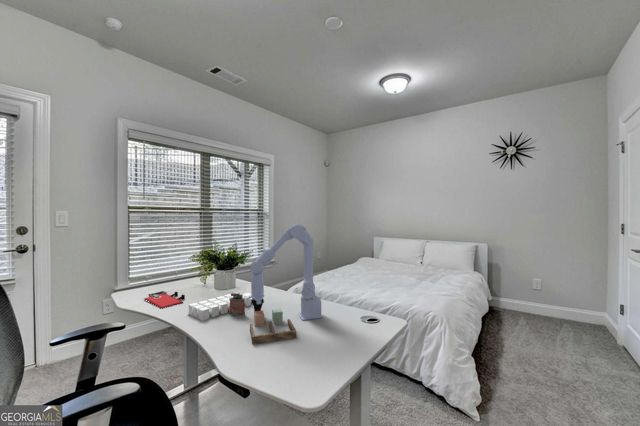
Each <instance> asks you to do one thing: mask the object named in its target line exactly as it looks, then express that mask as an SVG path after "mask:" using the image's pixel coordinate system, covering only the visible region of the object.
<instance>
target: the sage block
mask: <svg viewBox="0 0 640 426" xmlns="http://www.w3.org/2000/svg"><path fill="white" fill-rule="evenodd" d="M271 310H272V312H271V318H272V319H271V320H272V321H271V322H272V324H273V325H275V324H277V325H278V324H283V321H284V320H283V309H281V308H277V309H276V308H275V309H271Z"/></svg>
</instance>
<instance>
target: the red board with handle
mask: <svg viewBox="0 0 640 426" xmlns="http://www.w3.org/2000/svg"><path fill="white" fill-rule="evenodd" d="M147 295H148V297H144V298H143V300H144V299H145V300H147V301H149V302H150V303H149V302H148V303H149V304H151V303H152V304H151V305H153V304H154V305H153V306H155V305H156V306H155V307H157V306H158V307H157V308H159V309H161V308H162V309H165V307H166V308H170V307H174V306H177V304H178V305H181V304H184V301H182V300H183V299H184V300H186V295H185V294H181V295H180V297H179V292H178V291H174V293H172V294H171V295H169V293H167V292H166V291H163V290H162V291H157V292H153V293H148V294H147ZM176 296H177V298H176ZM145 300H144V301H145ZM147 301H146V302H147ZM173 305H174V306H173ZM169 306H170V307H169Z"/></svg>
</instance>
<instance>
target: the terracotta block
mask: <svg viewBox="0 0 640 426" xmlns="http://www.w3.org/2000/svg"><path fill="white" fill-rule="evenodd" d="M253 323H254V326H255V327H259V326H260V327H261V326H265V312H264V310H262V309H261V311H254V310H253Z"/></svg>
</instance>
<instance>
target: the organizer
mask: <svg viewBox="0 0 640 426" xmlns="http://www.w3.org/2000/svg"><path fill="white" fill-rule="evenodd" d="M235 293H236V294H237V293H238V292H235ZM242 294H243V297H242V298H245V307H246V306H247V307H249V306H251V304H252V301H251V299H252V298H249V295H251V292H245V293H242ZM231 297H233V296H231V293H229V294H228V293H227V294H225V295H221V296H216V297H215V298H213V297H212V298H209V299H207V300H202V301H201V300H200V301H198V302H193V303H190V304H188V315H191V316H193V317H194V318H197V319H199V320H200V321H205V320H208V319H210V318H214V317H218V316H220V315H224V314H227V313H228V312H230V300H229V298H231Z"/></svg>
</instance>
